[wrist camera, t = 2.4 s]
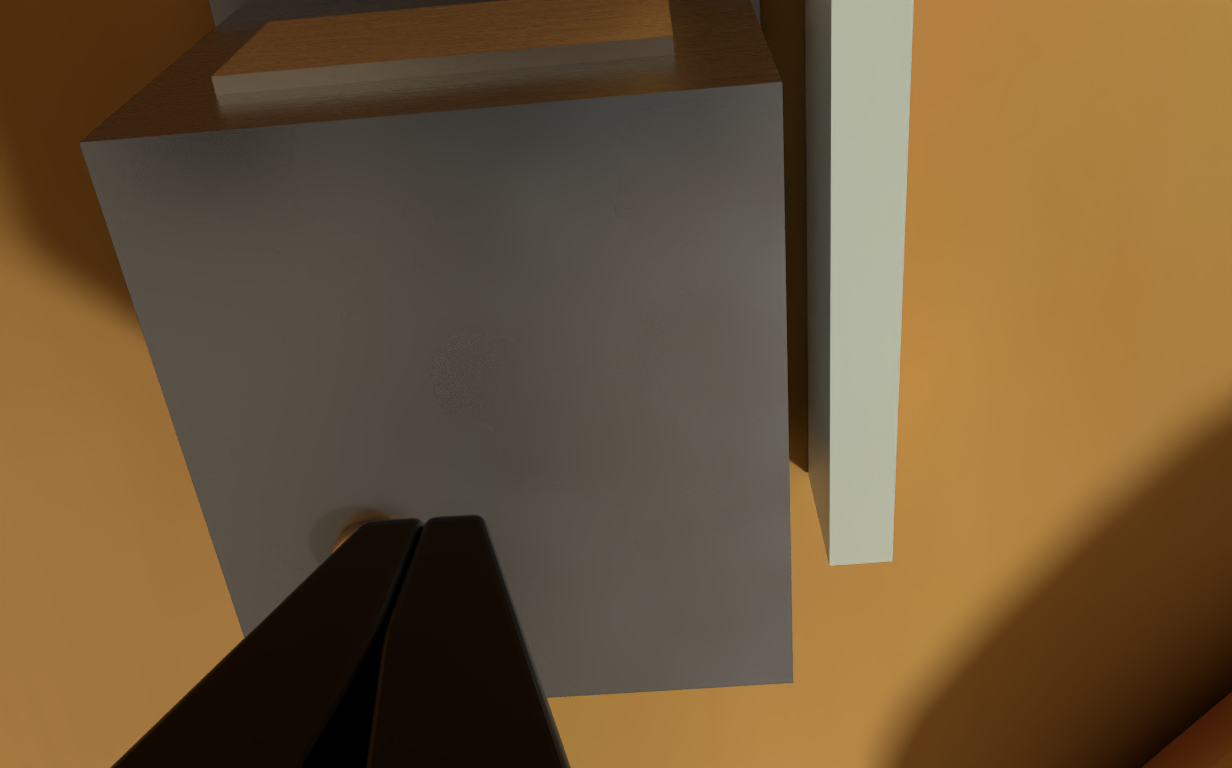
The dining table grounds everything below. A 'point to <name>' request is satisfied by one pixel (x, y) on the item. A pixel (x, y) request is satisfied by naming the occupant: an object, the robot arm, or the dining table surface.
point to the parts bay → (855, 264)
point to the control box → (482, 308)
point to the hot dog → (1201, 742)
